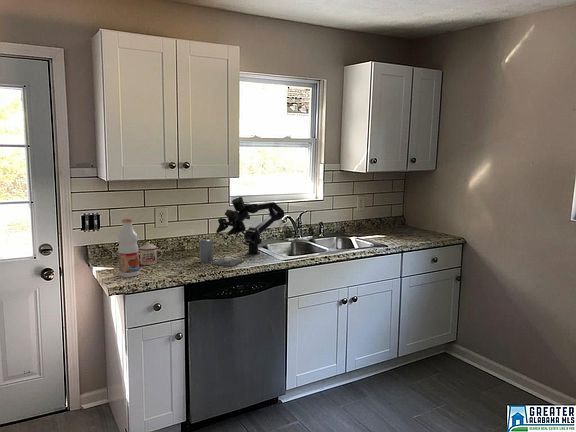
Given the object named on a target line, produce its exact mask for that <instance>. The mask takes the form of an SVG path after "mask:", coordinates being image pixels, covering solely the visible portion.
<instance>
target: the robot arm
mask: <svg viewBox="0 0 576 432" xmlns="http://www.w3.org/2000/svg"><path fill="white" fill-rule="evenodd" d="M231 204H232V206H233V208H234V210H233V209H226V211H225V212H224V215H225V216H226V217H227V219H226V218H222V217H220V218H219V219H217V222H218V224H219V225H218V227H217V229H216V231H215V233H217V234H219V233H221V232H223V231H225V230H226V229H228V228H229V227H231V229H230V230H229V231H228V232H227V233H226V234H227V236H231V235H235V234H239V233H244V235H243V237H244V241H245V243H246V244H248V251H247V252H246V254H247V255H258V254H260V253H261V251H259V245H261V244H262V243H263V242H262V241H263V239H261V234H262V233H263V232H265V231H266V230H267V229H268V228H269V227H270V226H271V225H272V224H273V223H274V222H277V221H279V220H281V219H283V218H284V217H285V211H284V210H283V208H282V207H281V206H279V205H278V204H277V203H276V202H275V201H269V200H268V201H266V202H259V203H252V202H251V203H250V202H246V203H245V201H244V199H243V197H242V196H239V197H237V198H234V199H232V200H231ZM262 210H268V212H269V213H268V216H267V217H266V218H265V219H264V220H262V221H261V222H260V223H258V224H257V226H255V227H249V228H248V229H246V225H245V223H244V221H245V220H250V219H251V215H250V214H255V213H258V212H259V211H262Z"/></svg>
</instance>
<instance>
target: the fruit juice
mask: <svg viewBox="0 0 576 432" xmlns="http://www.w3.org/2000/svg"><path fill="white" fill-rule="evenodd" d="M133 222H134V221H133V219H131V218H125V219H124V218H123V219H122V220H121V224H122V227H121V231H120V232H119V234H118V236H117V237H118V238H117V239H118V244H119V245H118V249H117V250H118V251H117V252H118V268H119V277H121V278H134V277H133V276H135V277H137V275H138V276H139V275H140V262H139V261H140V259H139V258H140V249H139V245H138V234H137V232H136V231H135V229H134V227H133Z"/></svg>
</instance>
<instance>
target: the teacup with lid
mask: <svg viewBox="0 0 576 432" xmlns="http://www.w3.org/2000/svg"><path fill="white" fill-rule="evenodd" d="M157 252H160V255H159V256H157ZM162 256H163V251H162V250H161V249H158V247H157V246H156V245H154V244H152V243H151V242H146V243H145V244H143V245H142V246H140V247H139V258H140V259H139V261H140V262H139V264H140V265H142V266H151V265H156V264H157V263H158V259H161V258H162Z"/></svg>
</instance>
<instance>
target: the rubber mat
mask: <svg viewBox="0 0 576 432" xmlns="http://www.w3.org/2000/svg"><path fill="white" fill-rule="evenodd" d="M242 263H244V260H243V259H242V260H241V259H236V258H235V259H234V258H232V257H231V256H224V257H222V258H220V259H218V260H215V261H213V262H210V264H211V266H218V265H219V267H227V268H233V267H236V266H238V265H240V264H242Z"/></svg>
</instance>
